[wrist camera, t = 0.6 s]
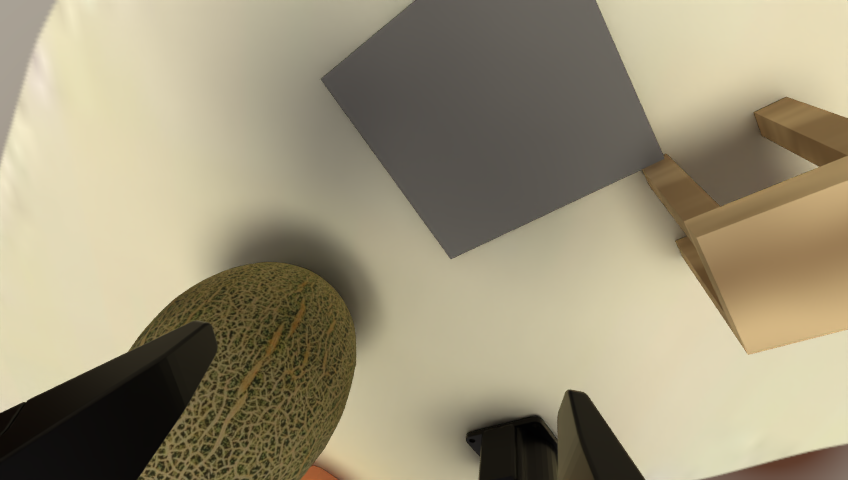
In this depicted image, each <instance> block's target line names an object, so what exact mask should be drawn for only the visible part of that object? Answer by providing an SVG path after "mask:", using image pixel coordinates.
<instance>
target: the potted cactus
mask: <svg viewBox="0 0 848 480" xmlns="http://www.w3.org/2000/svg"><path fill="white" fill-rule="evenodd" d="M300 480H338V479H337V478H335V477H334V476H332V475H331V474H329V473H328V472H326V471H325V470H323V469H322V468H319V467H316V466H313V465H312V466H311V467H310V468H309V469H308V471H307V472H306V474H305V475H304V476H303V477H302V478H301V479H300Z"/></svg>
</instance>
